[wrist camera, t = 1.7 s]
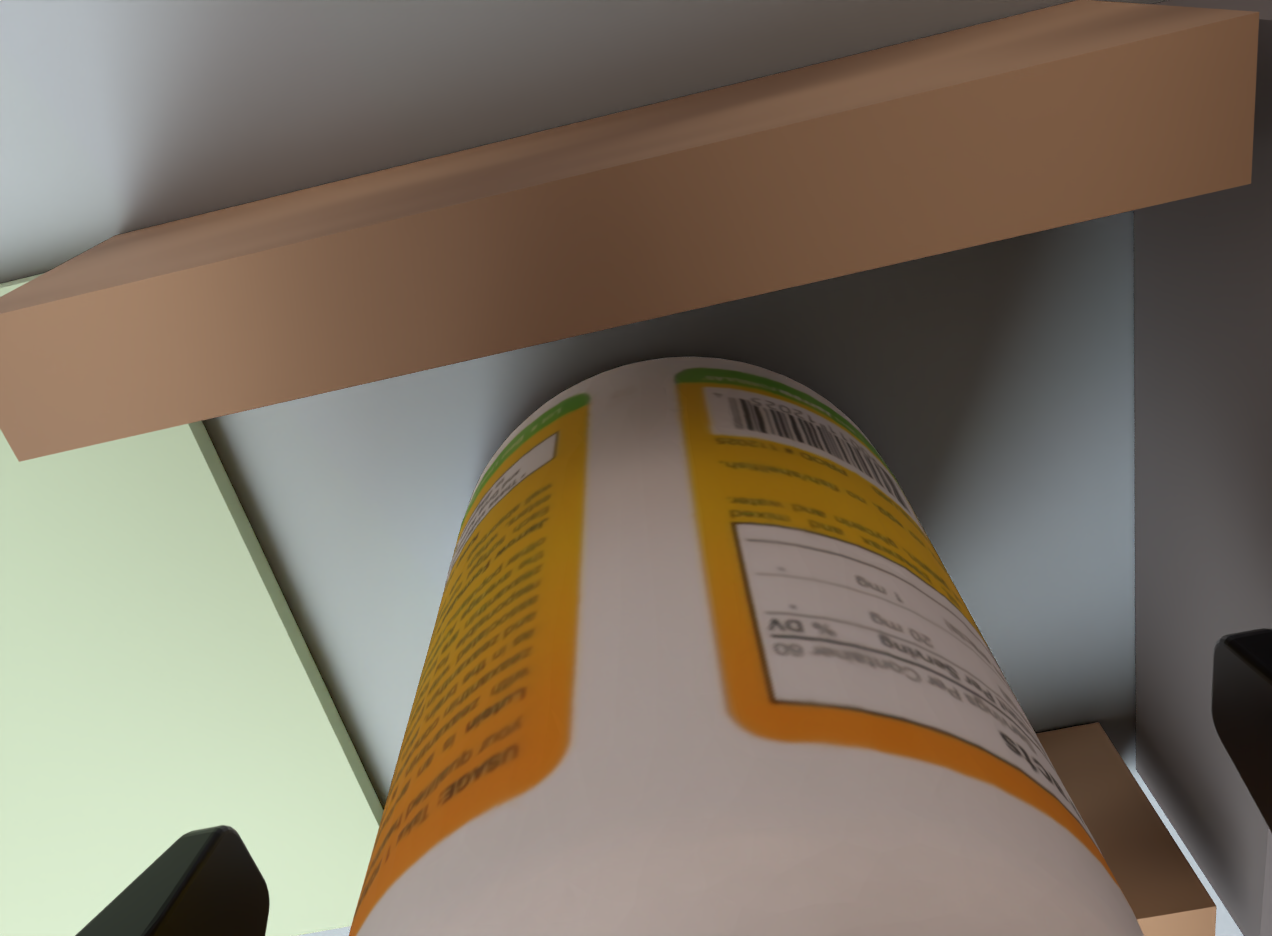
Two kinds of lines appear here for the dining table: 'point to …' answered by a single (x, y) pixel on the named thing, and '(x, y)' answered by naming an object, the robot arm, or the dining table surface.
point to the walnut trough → (663, 253)
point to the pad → (159, 692)
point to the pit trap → (1205, 495)
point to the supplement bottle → (716, 696)
